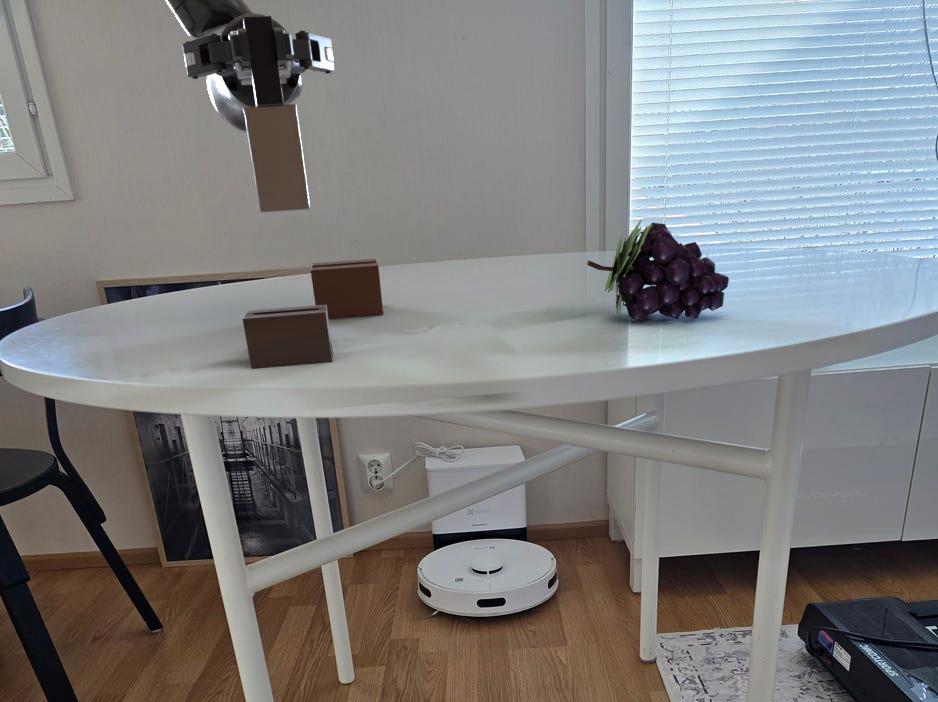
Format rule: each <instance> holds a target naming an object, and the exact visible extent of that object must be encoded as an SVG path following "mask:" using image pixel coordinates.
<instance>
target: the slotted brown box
mask: <svg viewBox="0 0 938 702" xmlns="http://www.w3.org/2000/svg"><path fill="white" fill-rule="evenodd" d="M310 276H311V277H310V278H311V284H312V291H313V299H314V305H327V312H328V319H329V321H330V320H342V319H353V318H355V319H356V318H367V317H379V316H385V315H384V313H385V312H384V306H383V305H384V304H383V294H382V284H381V275H380V267H379V264H378V261H377V259H376V258H367V259H353V260H338V261H326V262H313V263H312V265H311V269H310Z"/></svg>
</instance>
